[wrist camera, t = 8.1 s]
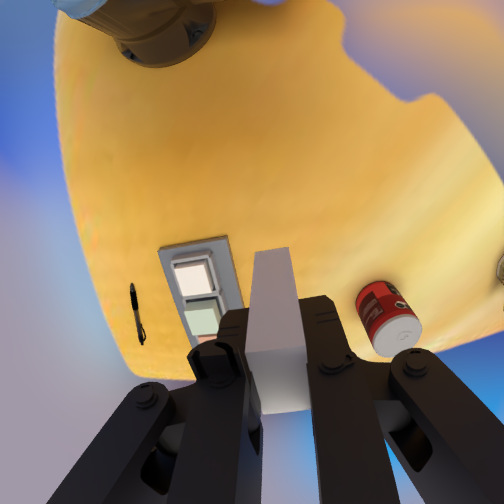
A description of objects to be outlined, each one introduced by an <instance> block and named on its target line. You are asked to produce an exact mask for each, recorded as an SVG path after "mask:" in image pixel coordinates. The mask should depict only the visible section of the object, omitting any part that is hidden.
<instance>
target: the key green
mask: <svg viewBox="0 0 504 504" xmlns="http://www.w3.org/2000/svg"><path fill="white" fill-rule="evenodd" d="M184 314H185V316H186V319H187V322H188V325H189V327H190V330H191V333H192V335H205V334H215V333H217V332H218V328H219V323H220V319H221V316H220V313H219V309H218V306H217V302H216V299H214V300H206V301H198V302H190V303H187V306H186V308H185V310H184Z"/></svg>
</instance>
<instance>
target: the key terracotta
mask: <svg viewBox="0 0 504 504" xmlns="http://www.w3.org/2000/svg"><path fill="white" fill-rule="evenodd" d="M216 338H217V333H215V334H205V335H199V336H198V340H199V342H200V343H203V342H205V341H207V340H212V339H216Z"/></svg>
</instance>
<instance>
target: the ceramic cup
mask: <svg viewBox="0 0 504 504" xmlns="http://www.w3.org/2000/svg"><path fill="white" fill-rule="evenodd" d="M496 275H497V276H498V278H499V280H500V281H501V282H502V283H503V285H504V255H503V257H502V258H501V259H500V261H499V262H498V267H497V273H496ZM503 310H504V306H503Z"/></svg>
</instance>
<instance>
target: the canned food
mask: <svg viewBox="0 0 504 504" xmlns="http://www.w3.org/2000/svg"><path fill="white" fill-rule="evenodd" d="M356 309H357V312H358V315H359V317H360V319H361V321H362V323H363V326H364V328H365V330H366V333H367V335H368V337H369V340H370V342H371V344H372V346H373V348H374V350H375V351H376V353H377V354H378V355H380V356H382V357H386V358H391V357H395V355H397V354H398V353H399V352H401V351H403V350H406V349H409V348H412V347H413V346H414V345H415V344H416V343H417V342H418V340H419V338H420V336H421V333H422V325H421V323H420V321H419V319H418V318H417V316H416V315H415V313H414V312H413V310H412V309H411V308H410V306H409V305H408V304H407V302H406V301H405V300H404V298H403V297H402V296H401V294H400V293H399V292H398V290H397V289H396V288H395V287H394V286H393V285H391V284H390V283H387V282H382V281H381V282H375V283H372V284H370V285H368V286H366V287H365V288H364V289H363V290H362V291H361V292H360V294H359V296H358V298H357V302H356Z"/></svg>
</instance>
